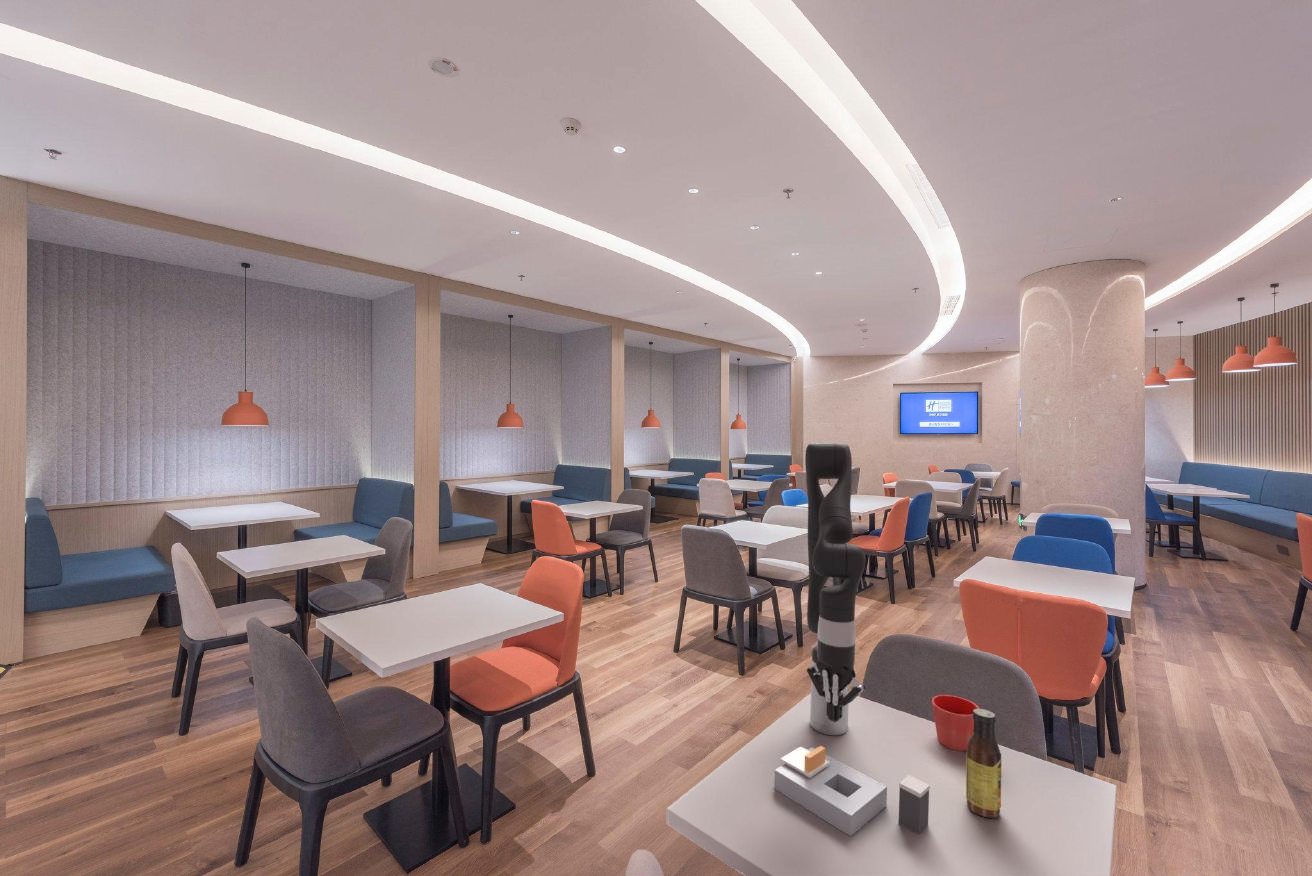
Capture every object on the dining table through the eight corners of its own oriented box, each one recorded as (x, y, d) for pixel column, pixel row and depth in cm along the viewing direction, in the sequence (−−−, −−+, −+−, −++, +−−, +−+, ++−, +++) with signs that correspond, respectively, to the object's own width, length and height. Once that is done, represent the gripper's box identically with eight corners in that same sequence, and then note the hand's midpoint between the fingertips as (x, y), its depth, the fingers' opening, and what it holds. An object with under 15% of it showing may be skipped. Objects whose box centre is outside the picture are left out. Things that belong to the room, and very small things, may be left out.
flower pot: (920, 736, 141) (922, 698, 141) (949, 727, 146) (951, 691, 146) (959, 759, 131) (960, 718, 131) (988, 749, 136) (989, 710, 136)
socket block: (811, 764, 127) (812, 747, 127) (886, 805, 114) (887, 786, 114) (774, 788, 118) (774, 770, 118) (850, 836, 105) (851, 815, 105)
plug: (907, 814, 111) (908, 775, 111) (928, 825, 108) (929, 785, 108) (898, 823, 109) (899, 783, 109) (919, 835, 106) (920, 793, 106)
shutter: (800, 749, 126) (801, 733, 126) (829, 764, 120) (830, 748, 120) (780, 761, 121) (781, 744, 121) (809, 777, 115) (810, 760, 115)
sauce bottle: (1005, 822, 110) (1009, 723, 110) (971, 817, 111) (974, 719, 111) (992, 801, 116) (995, 708, 116) (960, 796, 117) (963, 704, 117)
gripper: (875, 644, 113) (872, 727, 113) (819, 625, 123) (816, 702, 123) (855, 653, 108) (853, 740, 108) (799, 633, 118) (797, 712, 118)
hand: (834, 719), depth 116 cm, fingers closed
